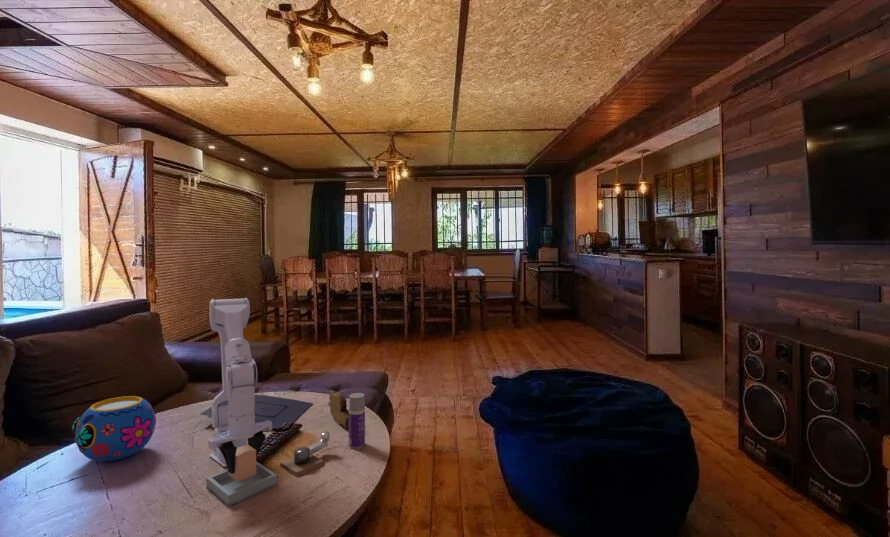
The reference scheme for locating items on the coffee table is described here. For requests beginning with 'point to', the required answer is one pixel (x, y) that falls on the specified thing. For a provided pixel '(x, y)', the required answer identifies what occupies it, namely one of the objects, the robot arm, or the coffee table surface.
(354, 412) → the container
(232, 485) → the tray
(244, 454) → the block
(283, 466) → the crank base
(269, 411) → the dark grey flat slab
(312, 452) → the crank
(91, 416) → the ceramic pot
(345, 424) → the wooden carving
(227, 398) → the robot arm
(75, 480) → the coffee table surface
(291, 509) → the coffee table surface
